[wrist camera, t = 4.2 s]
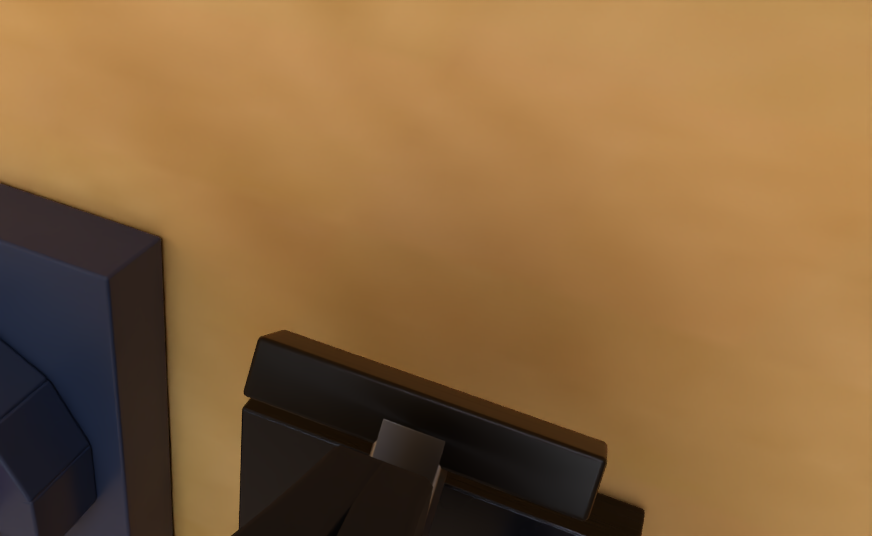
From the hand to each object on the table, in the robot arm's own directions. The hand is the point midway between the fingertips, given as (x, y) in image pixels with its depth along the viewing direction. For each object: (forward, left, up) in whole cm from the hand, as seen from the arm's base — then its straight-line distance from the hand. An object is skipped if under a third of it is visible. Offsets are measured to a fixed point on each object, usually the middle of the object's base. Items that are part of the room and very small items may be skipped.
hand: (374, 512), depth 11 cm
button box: (-6, +11, -5) cm, 13 cm away
